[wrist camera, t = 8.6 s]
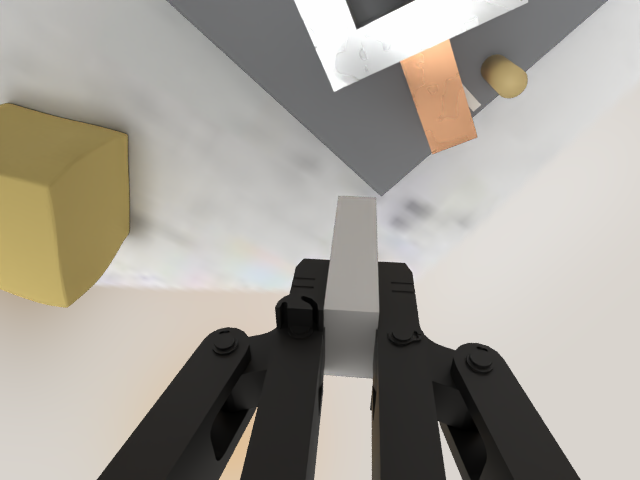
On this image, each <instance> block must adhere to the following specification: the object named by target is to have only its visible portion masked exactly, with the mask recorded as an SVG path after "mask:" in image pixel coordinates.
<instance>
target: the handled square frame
mask: <svg viewBox="0 0 640 480" xmlns="http://www.w3.org/2000/svg"><path fill="white" fill-rule="evenodd" d="M294 1H295V3H296V5H297V7H298V10H299V12H300V14H301V17H302V19H303V21H304V23H305V26H306V28H307V30H308V33H309V35H310V37H311V40H312V42H313V44H314V46H315V49H316V51H317V53H318V56H319V58H320V60H321V62H322V65H323V67H324V69H325V72H326V74H327V76H328V79H329V81H330V83H331V85H332V88H333V90H334V91H336V90H339V89H341V88H343V87H345V86H347V85H349V84H352V83H354V82H356V81H358V80H360V79H363V78H365V77H367V76H369V75H371V74H373V73H376V72H378V71H380V70H382V69H384V68H387V67H389V66H391V65H393V64H395V63H397V62H400V63H401V66H402V69H403V72H404V75H405V77H406V80H407V83H408V86H409V89H410V92H411V95H412V97H413V100H414V103H415V106H416V109H417V112H418V115H419V117H420V120H421V123H422V126H423V129H424V132H425V135H426V137H427V140H428V143H429V146H430V149H431V152H432V154H434V153H437V152H440V151H442V150H445V149H448V148H450V147H453V146H456V145H458V144H461V143H464V142H466V141H469V140H472V139H474V138H477V134H476V130H475V127H474V123H473V120H472V116H471V113H470V109H469V106H468V103H467V99H466V96H465V92H464V89H463V85H462V82H461V78H460V75H459V71H458V68H457V65H456V61H455V58H454V54H453V51H452V47H451V44H450V40H449V39H450V38H452V37H454V36H456V35H458V34H461V33H463V32H465V31H467V30H469V29H471V28H474V27H476V26H478V25H480V24H482V23H484V22H487V21H489V20H491V19H493V18H495V17H498V16H500V15H502V14H504V13H506V12H508V11H511V10H513V9H515V8H517V7H519V6H521V5H524V4H526V3H528V0H407V1H405V2H403V3H401V4H399V5H397V6H395V7H393V8H391V9H389V10H387V11H385V12H383V13H381V14H379V15H377V16H375V17H373V18H371V19H369V20H367V21H365V22H363V23H361V24H359V25H358V23H357V20H356V17H355V15H354V12H353V9H352V7H351V4H350V1H349V0H294Z"/></svg>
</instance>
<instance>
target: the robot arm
mask: <svg viewBox="0 0 640 480" xmlns="http://www.w3.org/2000/svg"><path fill="white" fill-rule="evenodd" d="M275 311H276V323H277V328H275V329H274V330H272V331H270V332H268V333H265V334H262V335H256V336H251V337H248V336H247V335H246V334H245V332H244V331H241V330H240V329H237V328H230V327H227V328H222V329H218V330H216V331H214V332H212V333H211V334H209V335H208V336H207V337H206V338H205V339H204V340H203V341H202V343H201V344H200V346H199V347H198V348H197V349H196V351H195V352H194V353H193V354H192V356H191V357H190V359H189V360H188V361H187V362H186V364H185V365H184V366H183V368H182V369H181V370H180V371H179V373H178V374H177V375H176V377H175V378H174V379H173V381H172V382H171V383H170V385H169V386H168V387H167V389H166V390H165V391H164V392H163V394H162V395H161V396H160V398H159V399H158V400H157V402H156V403H155V404H154V406H153V407H152V408H151V409H150V411H149V412H148V413H147V415H146V416H145V418H144V419H143V420H142V421H141V423H140V424H139V425H138V427H137V428H136V429H135V430H134V432H133V433H132V434H131V436H130V437H129V438H128V440H127V441H126V442H125V444H124V445H123V446H122V447H121V449H120V450H119V452H118V453H117V454H116V455H115V457H114V458H113V459H112V461H111V462H110V463H109V464H108V466H107V467H106V468H105V470H104V471H103V472H102V474H101V475H100V476H99V478H98V479H97V480H219V478H220V476H221V474H222V473H223V470H224V469H225V467H226V465H227V463H228V461H229V459H230V457H231V456H232V454H233V452H234V450H235V448H236V446H237V444H238V442H239V440H240V438H241V437H242V434H243V433H244V431H245V429H246V427H247V425H248V424H249V422H250V420H251V418H252V416H253V414H254V412H255V410H256V407H258V409H257V413H256V417H255V421H254V425H253V429H252V433H251V437H250V441H249V446H248V449H247V454H246V458H245V462H244V466H243V471H242V474H241V478H240V480H314V474H315V465H316V455H317V445H318V435H319V425H320V416H321V406H322V396H323V375H332V376H346V377H359V378H372V379H373V386H372V396H371V406H370V410H372V480H446V476H445V469H444V462H443V455H442V448H441V441H440V434H439V427H438V421H439V422H440V426H441V429H442V431H443V433H444V436H445V438H446V441H447V443H448V445H449V448H450V450H451V452H452V455H453V458H454V460H455V463H456V465H457V467H458V470H459V472H460V475H461V477H462V479H463V480H580V478H579V477H578V475H577V473H576V472H575V470H574V469H573V467H572V466H571V464H570V462H569V461H568V459H567V458H566V456H565V454H564V453H563V451H562V450H561V448H560V447H559V445H558V443H557V442H556V441H555V439H554V437H553V436H552V434H551V433H550V431H549V429H548V428H547V426H546V425H545V423H544V422H543V420H542V418H541V417H540V415H539V414H538V412H537V411H536V409H535V407H534V406H533V404H532V403H531V401H530V400H529V398H528V396H527V395H526V393H525V392H524V390H523V389H522V387H521V385H520V384H519V383H518V381H517V379H516V378H515V376H514V375H513V373H512V371H511V370H510V368H509V367H508V365H507V364H506V362H505V360H504V359H503V358H502V357H501V356H500V354H498V352H497V351H495V350H493V349H492V348H490V347H489V346H486V345H482V344H479V343H467V344H464V345H461V346H460V347H458V349H456V350H453V349H450V348H446V347H443V346H441V345H438V344H436V343H434V342H433V341H431V340H430V339H428V338H427V337H426V336H425V335H424V333H423V331H422V330H421V328H420V325H419V318H418V311H417V304H416V296H415V289H414V282H413V275H412V272H411V270H410V269H409V268H408V266H407V265H406V264H405V263H394V262H378V252H377V217H376V198H375V197H351V196H338V202H337V210H336V217H335V225H334V233H333V241H332V248H331V256H330V260H320V259H303V260H302V261H301V262H300V263H299V264H298V266H297V267H296V269H295V273H294V278H293V282H292V287H291V290H290V294H289V295H287V296H285V297H283V298H282V299H281V300H279V301H278V303H277V305H276V307H275Z"/></svg>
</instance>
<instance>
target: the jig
mask: <svg viewBox="0 0 640 480" xmlns="http://www.w3.org/2000/svg"><path fill="white" fill-rule="evenodd" d="M167 1H168V2H169V3H170V4H171V5H172V6H173V7H174V8H175V9H177V10H178V11H179V12H180V13H181V14H182V15H183V16H184V17H185V18H186V19H187V20H189V21H190V22H191V23H192V24H193V25H194V26H195V27H196V28H197V29H198V30H200V31H201V32H202V33H203V34H204V35H205V36H206V37H207V38H208V39H209V40H210V41H212V42H213V43H214V44H215V45H216V46H217V47H218V48H219V49H220V50H221V51H223V52H224V53H225V54H226V55H227V56H228V57H229V58H230V59H231V60H232V61H233V62H235V63H236V64H237V65H238V66H239V67H240V68H241V69H242V70H243V71H244V72H246V73H247V74H248V75H249V76H250V77H251V78H252V79H253V80H254V81H255V82H256V83H258V84H259V85H260V86H261V87H262V88H263V89H264V90H265V91H266V92H267V93H269V94H270V95H271V96H272V97H273V98H274V99H275V100H276V101H277V102H278V103H280V104H281V105H282V106H283V107H284V108H285V109H286V110H287V111H288V112H289V113H290V114H292V115H293V116H294V117H295V118H296V119H297V120H298V121H299V122H300V123H301V124H303V125H304V126H305V127H306V128H307V129H308V130H309V131H310V132H311V133H312V134H313V135H315V136H316V137H317V138H318V139H319V140H320V141H321V142H322V143H323V144H324V145H326V146H327V147H328V148H329V149H330V150H331V151H332V152H333V153H334V154H335V155H336V156H338V157H339V158H340V159H341V160H342V161H343V162H344V163H345V164H346V165H347V166H349V167H350V168H351V169H352V170H353V171H354V172H355V173H356V174H357V175H358V176H359V177H361V178H362V179H363V180H364V181H365V182H366V183H367V184H368V185H369V186H370V187H372V188H373V189H374V190H375V191H376V192H377V193H378V194H379V195H380V196H383V195H384V194H385V193H386V192H387V191H388V190H389V189H391V188H392V187H393V186H394V185H395V184H396V183H398V182H399V181H400V180H401V179H402V178H403V177H404V176H406V175H407V174H408V173H409V172H410V171H411V170H413V169H414V168H415V167H416V166H417V165H418V164H419V163H421V162H422V161H423V160H424V159H425V158H426V157H428V156H429V155H430V154H431V153H432V152H431V149H430V146H429V143H428V140H427V137H426V135H425V132H424V129H423V126H422V123H421V120H420V117H419V115H418V112H417V109H416V106H415V103H414V100H413V97H412V95H411V92H410V89H409V86H408V83H407V80H406V77H405V75H404V72H403V69H402V66H401V63H400V62H397V63H395V64H393V65H391V66H389V67H387V68H384V69H382V70H380V71H378V72H376V73H373V74H371V75H369V76H367V77H365V78H363V79H360V80H358V81H356V82H354V83H352V84H349V85H347V86H345V87H343V88H341V89H339V90H336V91H334V90H333V88H332V85H331V83H330V81H329V79H328V76H327V74H326V72H325V69H324V67H323V65H322V62H321V60H320V58H319V56H318V53H317V51H316V49H315V46H314V44H313V42H312V40H311V37H310V35H309V33H308V30H307V28H306V26H305V23H304V21H303V19H302V17H301V14H300V12H299V10H298V7H297V5H296V3H295V1H294V0H167ZM349 1H350V4H351V7H352V9H353V12H354V15H355V17H356V20H357V23H358V25H359V24H361V23H363V22H365V21H367V20H369V19H371V18H373V17H375V16H377V15H379V14H381V13H383V12H385V11H387V10H389V9H391V8H393V7H395V6H397V5H399V4H401V3H403V2H405V1H407V0H349ZM606 1H608V0H528V3H526V4H524V5H521V6H519V7H517V8H515V9H513V10H511V11H508V12H506V13H504V14H502V15H500V16H498V17H495V18H493V19H491V20H489V21H487V22H484V23H482V24H480V25H478V26H476V27H474V28H471V29H469V30H467V31H465V32H463V33H461V34H458V35H456V36H454V37H452V38H450V39H449V40H450V44H451V47H452V51H453V54H454V58H455V61H456V65H457V68H458V71H459V75H460V78H461V82H462V85H463V89H464V92H465V96H466V99H467V103H468V106H469V109H470V113H471V116H472V118H473V117H474V116H475V115H476V114H477V113H478V112H479V111H481V110H482V109H483V108H484V107H485V106H486V105H488V104H489V103H490V102H491V101H492V100H493V99H494V98H496V97H497V96H498V95H500V96H502V97H504V98H513V97H516V96H518V95H519V94H521V93H522V92H523V91H524V89H525V87H526V85H527V81H528V78H527V74H526V73H525V72H526V71H527V70H528V69H529V68H530V67H531V66H533V65H534V64H535V63H536V62H537V61H538V60H540V59H541V58H542V57H543V56H544V55H545V54H546V53H548V52H549V51H550V50H551V49H552V48H553V47H555V46H556V45H557V44H558V43H559V42H560V41H561V40H563V39H564V38H565V37H566V36H567V35H568V34H570V33H571V32H572V31H573V30H574V29H575V28H576V27H578V26H579V25H580V24H581V23H582V22H583V21H585V20H586V19H587V18H588V17H589V16H590V15H591V14H593V13H594V12H595V11H596V10H597V9H598V8H600V7H601V6H602V5H603V4H604V3H605V2H606Z"/></svg>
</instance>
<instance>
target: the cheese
mask: <svg viewBox="0 0 640 480" xmlns="http://www.w3.org/2000/svg"><path fill="white" fill-rule="evenodd" d="M128 234H129V174H128V135H127V134H125V133H122V132H118V131H115V130H111V129H108V128H104V127H100V126H96V125H91V124H87V123H82V122H78V121H73V120H69V119H64V118H60V117H56V116H52V115H49V114H45V113H42V112H38V111H34V110H31V109H28V108H24V107H21V106H17V105H14V104H10V103H5V104H1V105H0V289H1V290H4V291H6V292H9V293H12V294H14V295H17V296H20V297H23V298H26V299H29V300H32V301H35V302H38V303H43V304H47V305H51V306H59V307H69V306H70V305H71V304H73V303H74V302H75V301H76V300H77V299H79V298H80V297H81V296H82V295H83V294H84V293H85V292H87V290H89V288H91V287H92V286H93V285H94V284H95V283H96V282H97V281H98V280H99V278H100V277H101V276H102V275H103V273H104V272H105V271H106V269H107V268H108V266H109V265H110V263H111V262H112V260H113V258H114V257H115V255H116V253H117V252H118V250H119V248H120V246H121V245H122V243H123V241H124V240H125V238H126V237H127V235H128Z"/></svg>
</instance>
